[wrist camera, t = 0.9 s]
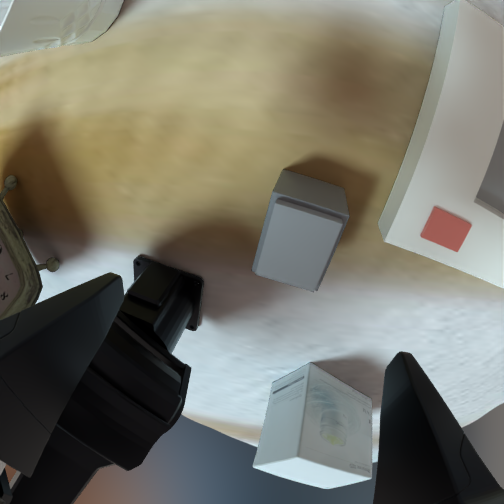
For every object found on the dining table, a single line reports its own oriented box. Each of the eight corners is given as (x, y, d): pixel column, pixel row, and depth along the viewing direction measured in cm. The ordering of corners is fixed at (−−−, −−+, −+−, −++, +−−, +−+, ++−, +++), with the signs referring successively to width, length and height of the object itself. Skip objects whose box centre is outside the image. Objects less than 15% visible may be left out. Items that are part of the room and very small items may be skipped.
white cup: (122, -51, 10) (27, -80, 2) (143, 15, 14) (28, -2, 5) (54, 3, 13) (-38, 6, 4) (69, 68, 16) (-35, 89, 8)
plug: (319, 252, 20) (316, 297, 16) (265, 235, 21) (248, 276, 16) (343, 187, 18) (350, 220, 13) (283, 168, 18) (270, 195, 14)
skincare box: (374, 397, 28) (374, 480, 19) (333, 415, 32) (325, 490, 23) (312, 359, 26) (298, 460, 18) (270, 382, 30) (249, 468, 21)
